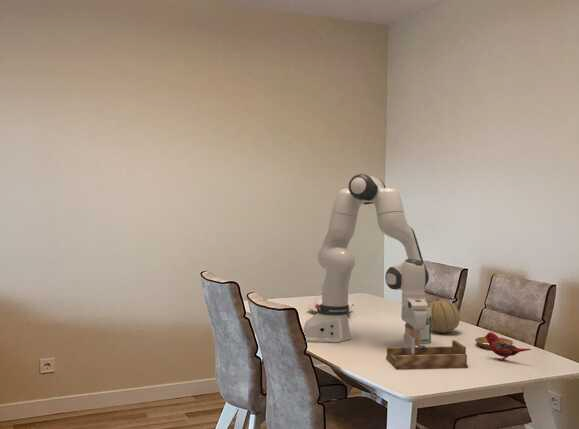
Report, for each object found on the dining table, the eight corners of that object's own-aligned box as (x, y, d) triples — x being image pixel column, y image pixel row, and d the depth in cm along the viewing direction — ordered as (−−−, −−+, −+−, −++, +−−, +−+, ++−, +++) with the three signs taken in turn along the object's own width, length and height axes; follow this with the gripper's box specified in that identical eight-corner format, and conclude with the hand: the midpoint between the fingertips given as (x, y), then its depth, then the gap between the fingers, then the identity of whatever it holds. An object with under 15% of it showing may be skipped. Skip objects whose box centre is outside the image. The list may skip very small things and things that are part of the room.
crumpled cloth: (342, 303, 341) (340, 287, 340) (370, 316, 308) (367, 297, 307) (301, 312, 334) (299, 296, 333) (326, 326, 301) (323, 307, 300)
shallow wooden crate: (396, 369, 222) (397, 349, 222) (386, 358, 236) (386, 340, 236) (467, 367, 225) (468, 348, 225) (453, 357, 239) (453, 339, 239)
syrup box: (418, 343, 260) (419, 308, 259) (412, 340, 265) (412, 306, 265) (431, 343, 261) (431, 308, 261) (424, 339, 267) (425, 305, 266)
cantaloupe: (458, 337, 271) (459, 303, 271) (423, 334, 276) (424, 300, 276) (460, 330, 285) (461, 297, 285) (427, 327, 290) (428, 295, 290)
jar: (407, 354, 243) (408, 326, 242) (402, 350, 249) (402, 323, 249) (422, 353, 244) (423, 326, 243) (417, 349, 250) (417, 322, 249)
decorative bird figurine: (485, 356, 241) (486, 330, 240) (532, 365, 229) (533, 338, 229) (482, 358, 239) (482, 331, 238) (529, 366, 227) (530, 339, 227)
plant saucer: (488, 353, 247) (489, 346, 247) (467, 344, 261) (467, 337, 261) (520, 350, 252) (521, 343, 251) (498, 341, 266) (498, 335, 266)
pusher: (411, 363, 225) (411, 338, 225) (403, 357, 234) (404, 333, 234) (428, 363, 226) (429, 338, 225) (420, 356, 235) (420, 332, 235)
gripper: (397, 296, 256) (397, 330, 256) (413, 306, 235) (412, 342, 236) (412, 296, 256) (412, 330, 257) (429, 306, 236) (429, 342, 236)
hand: (412, 336), depth 246 cm, fingers closed on jar, 6 cm apart
